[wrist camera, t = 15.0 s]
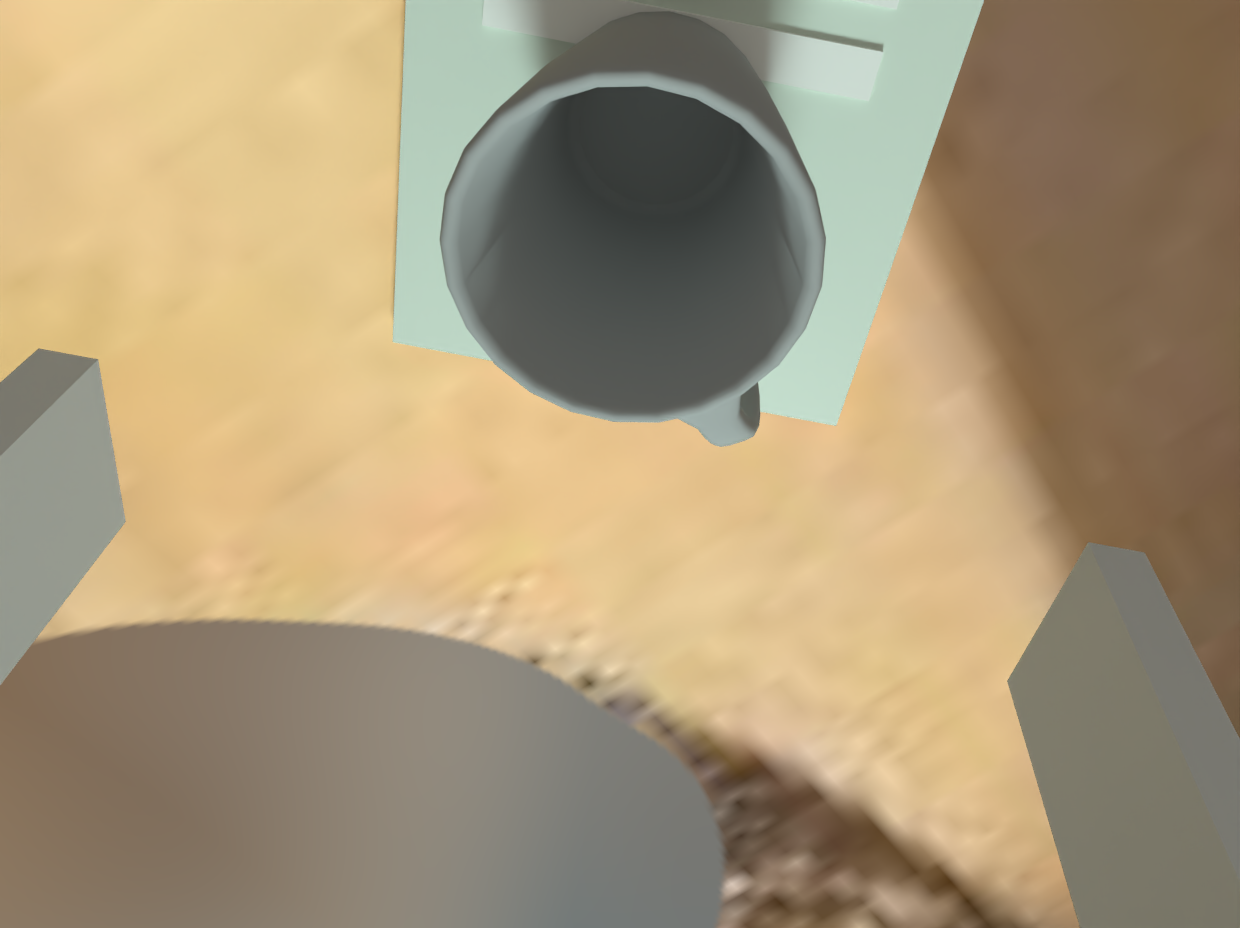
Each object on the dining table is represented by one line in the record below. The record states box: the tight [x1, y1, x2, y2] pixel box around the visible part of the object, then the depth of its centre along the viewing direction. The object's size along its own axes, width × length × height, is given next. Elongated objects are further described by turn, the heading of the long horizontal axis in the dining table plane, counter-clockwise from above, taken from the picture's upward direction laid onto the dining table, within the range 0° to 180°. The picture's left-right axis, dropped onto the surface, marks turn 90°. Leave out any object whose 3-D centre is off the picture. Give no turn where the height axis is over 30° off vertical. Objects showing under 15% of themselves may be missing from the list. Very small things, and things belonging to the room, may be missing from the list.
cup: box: [439, 11, 826, 447], centre depth 24 cm, size 8×10×8 cm
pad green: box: [393, 0, 984, 426], centre depth 27 cm, size 14×14×1 cm
